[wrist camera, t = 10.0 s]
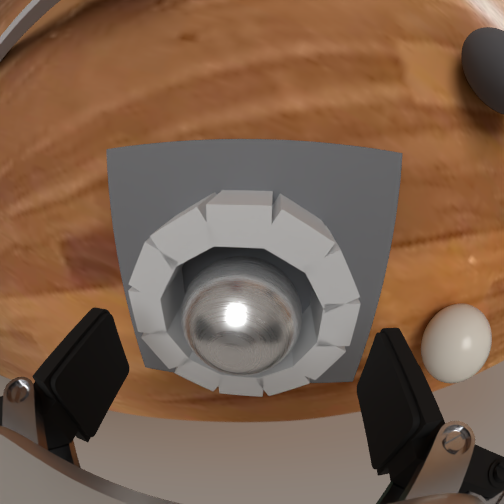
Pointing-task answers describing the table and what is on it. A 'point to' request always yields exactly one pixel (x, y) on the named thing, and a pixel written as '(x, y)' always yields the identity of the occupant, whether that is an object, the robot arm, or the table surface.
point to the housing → (255, 244)
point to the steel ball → (241, 315)
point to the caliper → (23, 23)
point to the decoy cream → (456, 343)
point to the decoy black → (485, 65)
